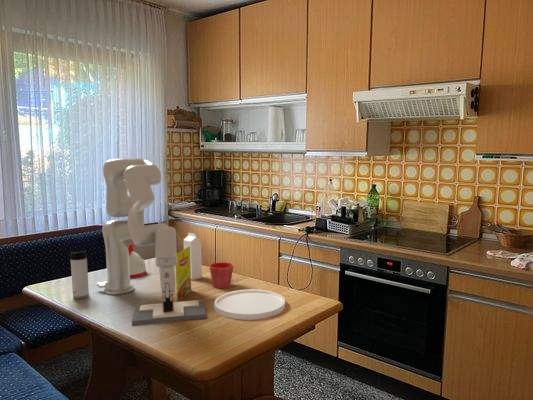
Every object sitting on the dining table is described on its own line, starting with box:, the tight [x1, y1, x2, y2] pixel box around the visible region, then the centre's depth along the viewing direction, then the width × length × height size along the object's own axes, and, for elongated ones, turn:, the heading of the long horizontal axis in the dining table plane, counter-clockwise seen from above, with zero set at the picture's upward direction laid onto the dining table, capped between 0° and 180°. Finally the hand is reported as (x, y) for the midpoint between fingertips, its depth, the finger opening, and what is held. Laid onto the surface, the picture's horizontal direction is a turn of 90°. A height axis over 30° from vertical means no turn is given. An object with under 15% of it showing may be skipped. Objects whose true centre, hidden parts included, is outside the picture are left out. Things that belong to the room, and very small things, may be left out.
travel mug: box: [69, 250, 90, 300], centre depth 180 cm, size 6×7×20 cm
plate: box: [213, 288, 286, 321], centre depth 168 cm, size 28×28×2 cm
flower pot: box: [208, 261, 234, 289], centre depth 193 cm, size 11×11×10 cm
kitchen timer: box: [127, 243, 147, 279], centre depth 213 cm, size 14×14×15 cm
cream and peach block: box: [153, 292, 184, 318], centre depth 157 cm, size 11×8×7 cm
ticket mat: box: [131, 299, 207, 326], centre depth 160 cm, size 26×15×2 cm, turn 102°
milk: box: [183, 232, 203, 281], centre depth 205 cm, size 6×6×22 cm
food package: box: [175, 246, 192, 302], centre depth 179 cm, size 15×1×20 cm, turn 168°
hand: (168, 309), depth 157 cm, fingers closed on cream and peach block, 3 cm apart
